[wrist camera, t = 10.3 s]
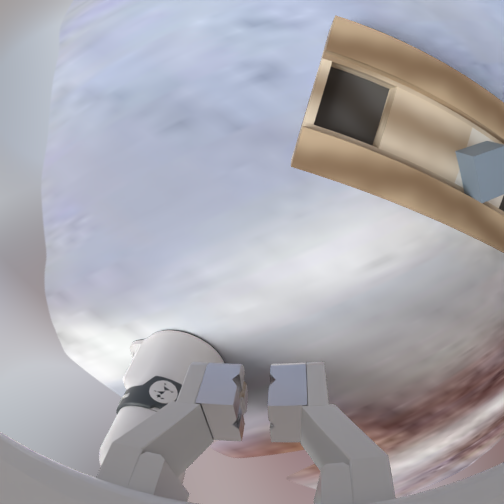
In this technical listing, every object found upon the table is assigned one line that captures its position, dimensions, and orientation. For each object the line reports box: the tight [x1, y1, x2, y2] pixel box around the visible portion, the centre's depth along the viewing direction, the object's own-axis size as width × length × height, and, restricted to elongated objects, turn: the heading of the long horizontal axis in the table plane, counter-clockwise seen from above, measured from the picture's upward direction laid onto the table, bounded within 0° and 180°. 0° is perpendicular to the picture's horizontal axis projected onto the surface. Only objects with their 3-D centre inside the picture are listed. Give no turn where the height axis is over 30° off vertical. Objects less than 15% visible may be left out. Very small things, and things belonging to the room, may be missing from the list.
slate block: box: [455, 141, 504, 203], centre depth 24 cm, size 5×5×4 cm
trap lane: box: [291, 16, 504, 253], centre depth 26 cm, size 16×34×5 cm, turn 75°
